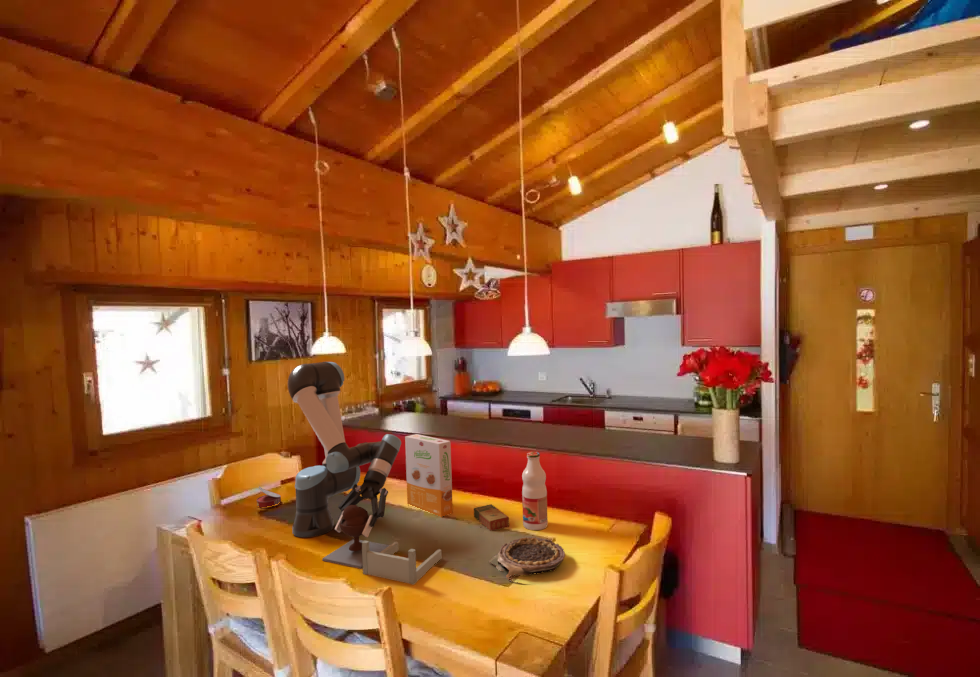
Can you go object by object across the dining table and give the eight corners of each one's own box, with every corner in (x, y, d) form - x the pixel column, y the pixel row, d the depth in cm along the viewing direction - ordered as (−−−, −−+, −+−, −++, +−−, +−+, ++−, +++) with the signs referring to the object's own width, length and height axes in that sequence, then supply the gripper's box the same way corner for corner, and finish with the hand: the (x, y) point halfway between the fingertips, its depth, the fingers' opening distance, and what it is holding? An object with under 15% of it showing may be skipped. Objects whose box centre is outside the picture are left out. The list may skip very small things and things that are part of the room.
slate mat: (322, 560, 165) (322, 558, 165) (353, 541, 179) (353, 538, 179) (361, 568, 158) (361, 566, 158) (390, 547, 173) (390, 545, 173)
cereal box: (452, 512, 204) (450, 441, 203) (441, 517, 199) (438, 444, 198) (418, 500, 219) (416, 434, 218) (407, 504, 215) (405, 436, 214)
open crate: (363, 573, 155) (361, 542, 155) (394, 550, 171) (393, 521, 171) (413, 584, 147) (412, 551, 147) (442, 558, 163) (441, 529, 163)
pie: (517, 538, 178) (516, 525, 178) (588, 556, 163) (588, 541, 163) (473, 572, 155) (473, 557, 154) (552, 597, 140) (552, 579, 140)
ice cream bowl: (365, 555, 162) (363, 511, 162) (334, 553, 165) (332, 509, 164) (378, 541, 173) (377, 499, 172) (349, 539, 175) (347, 498, 175)
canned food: (264, 512, 224) (267, 489, 229) (284, 510, 223) (287, 487, 227) (248, 508, 214) (252, 485, 219) (270, 506, 213) (273, 483, 217)
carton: (490, 532, 185) (489, 520, 184) (473, 517, 199) (473, 507, 199) (509, 527, 188) (509, 516, 188) (492, 513, 203) (491, 503, 203)
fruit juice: (550, 529, 184) (548, 455, 183) (526, 531, 183) (524, 457, 182) (543, 519, 193) (542, 449, 193) (520, 522, 192) (518, 451, 191)
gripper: (408, 482, 178) (384, 542, 164) (356, 476, 187) (329, 532, 173) (399, 472, 173) (374, 533, 159) (346, 466, 182) (318, 523, 168)
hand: (350, 533), depth 166 cm, fingers closed on ice cream bowl, 11 cm apart
